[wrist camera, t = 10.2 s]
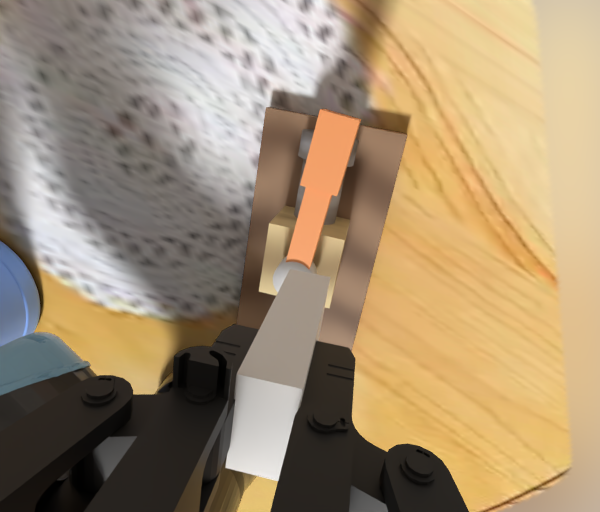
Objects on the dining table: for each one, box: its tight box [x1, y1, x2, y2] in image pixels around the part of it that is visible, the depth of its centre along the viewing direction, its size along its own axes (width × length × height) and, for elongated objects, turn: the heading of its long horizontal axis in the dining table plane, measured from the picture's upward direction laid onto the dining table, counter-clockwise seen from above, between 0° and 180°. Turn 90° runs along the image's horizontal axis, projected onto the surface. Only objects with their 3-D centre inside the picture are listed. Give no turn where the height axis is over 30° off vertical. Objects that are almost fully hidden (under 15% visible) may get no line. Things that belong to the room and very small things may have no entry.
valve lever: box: [273, 109, 361, 292], centre depth 30 cm, size 14×3×2 cm, turn 165°
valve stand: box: [237, 107, 407, 351], centre depth 37 cm, size 22×12×8 cm, turn 170°
